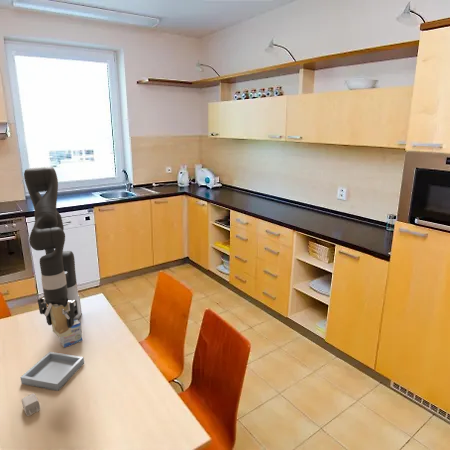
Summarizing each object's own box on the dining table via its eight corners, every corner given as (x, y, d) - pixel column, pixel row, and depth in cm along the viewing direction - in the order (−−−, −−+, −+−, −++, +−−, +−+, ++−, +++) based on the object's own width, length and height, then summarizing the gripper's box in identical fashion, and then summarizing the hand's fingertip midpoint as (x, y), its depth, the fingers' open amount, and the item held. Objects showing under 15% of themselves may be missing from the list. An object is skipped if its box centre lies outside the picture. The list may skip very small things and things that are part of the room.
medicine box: (63, 348, 145) (61, 329, 143) (60, 343, 148) (57, 325, 146) (83, 340, 150) (80, 322, 148) (79, 336, 153) (77, 318, 151)
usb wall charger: (36, 402, 117) (34, 392, 116) (42, 415, 112) (40, 404, 111) (23, 408, 114) (21, 398, 113) (28, 421, 109) (26, 411, 108)
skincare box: (52, 331, 128) (47, 301, 124) (64, 326, 131) (59, 296, 127) (60, 338, 124) (55, 307, 120) (72, 333, 127) (68, 302, 123)
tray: (50, 357, 139) (49, 351, 138) (84, 363, 136) (83, 357, 135) (21, 383, 125) (20, 377, 124) (58, 390, 122) (57, 384, 121)
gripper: (79, 281, 124) (84, 322, 128) (43, 277, 126) (50, 317, 131) (66, 290, 117) (72, 333, 121) (28, 286, 119) (35, 328, 124)
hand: (60, 325), depth 126 cm, fingers closed on skincare box, 7 cm apart
